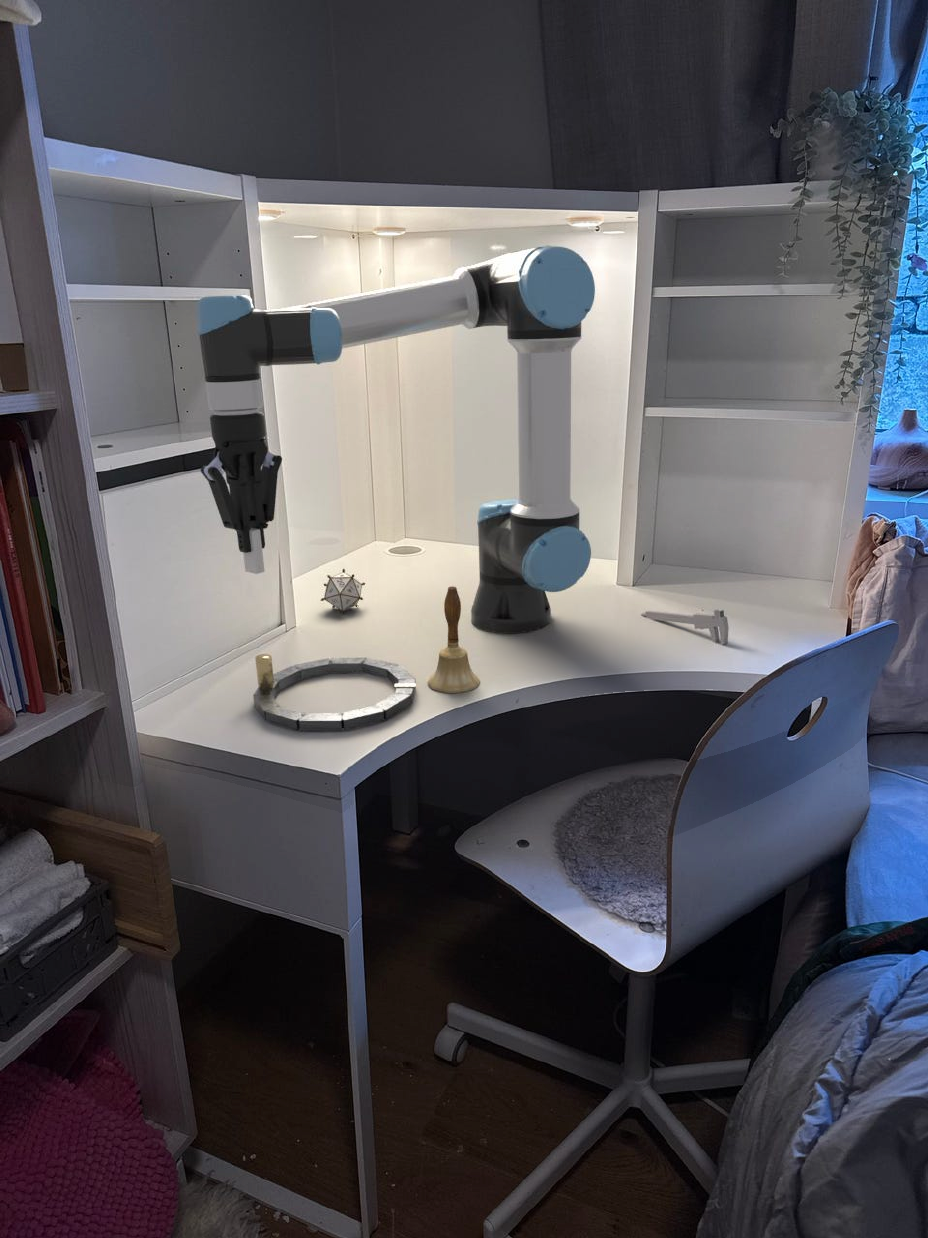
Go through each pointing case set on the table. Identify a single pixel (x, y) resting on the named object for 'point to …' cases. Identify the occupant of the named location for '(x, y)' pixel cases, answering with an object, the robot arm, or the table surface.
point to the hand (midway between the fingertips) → (254, 571)
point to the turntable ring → (330, 721)
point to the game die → (343, 591)
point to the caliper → (697, 622)
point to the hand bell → (453, 654)
